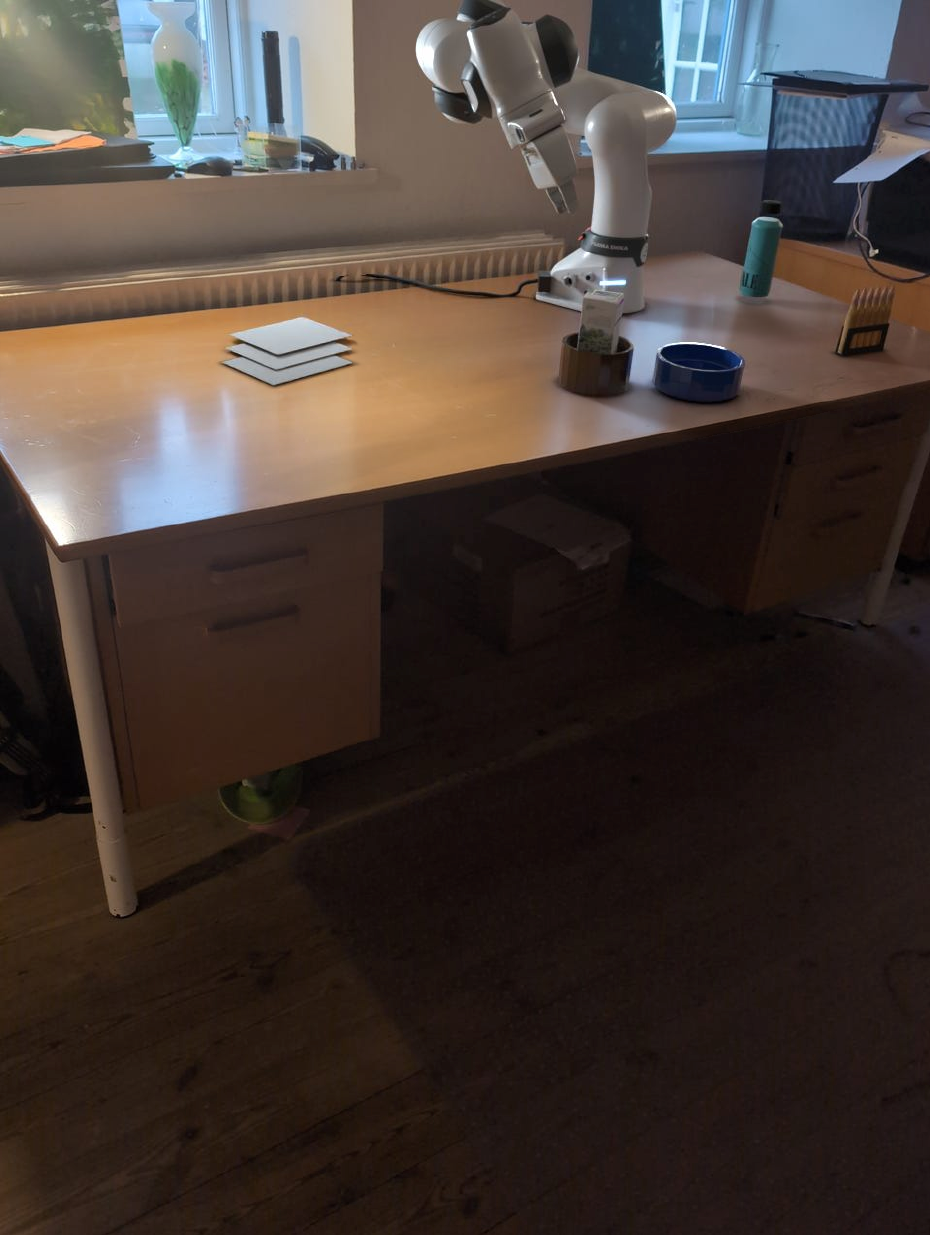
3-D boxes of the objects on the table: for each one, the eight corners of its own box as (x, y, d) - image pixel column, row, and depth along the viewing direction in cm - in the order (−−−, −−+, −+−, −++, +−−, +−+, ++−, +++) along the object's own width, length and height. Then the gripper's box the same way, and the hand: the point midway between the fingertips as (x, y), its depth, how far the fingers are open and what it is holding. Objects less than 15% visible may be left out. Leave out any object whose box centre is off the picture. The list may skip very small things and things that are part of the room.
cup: (547, 387, 165) (551, 345, 161) (574, 367, 174) (579, 327, 170) (613, 402, 160) (618, 359, 157) (638, 381, 169) (644, 340, 165)
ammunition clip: (841, 356, 186) (858, 290, 179) (834, 353, 187) (850, 287, 180) (883, 350, 190) (901, 285, 183) (875, 347, 191) (893, 282, 185)
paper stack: (388, 352, 175) (388, 348, 175) (273, 385, 159) (273, 381, 159) (303, 320, 188) (302, 316, 188) (188, 347, 172) (188, 343, 172)
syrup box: (614, 379, 168) (625, 291, 161) (606, 390, 164) (617, 301, 156) (580, 374, 170) (590, 286, 162) (572, 385, 165) (582, 296, 157)
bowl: (640, 392, 165) (644, 359, 162) (667, 368, 175) (672, 337, 172) (724, 411, 159) (731, 377, 156) (748, 385, 170) (754, 353, 167)
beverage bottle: (770, 299, 216) (791, 200, 205) (764, 306, 211) (785, 205, 200) (740, 294, 218) (759, 196, 207) (733, 301, 213) (752, 201, 202)
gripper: (505, 139, 163) (540, 221, 168) (524, 129, 144) (562, 222, 149) (540, 120, 163) (574, 203, 168) (563, 107, 144) (601, 202, 149)
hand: (569, 212), depth 158 cm, fingers open, 8 cm apart
